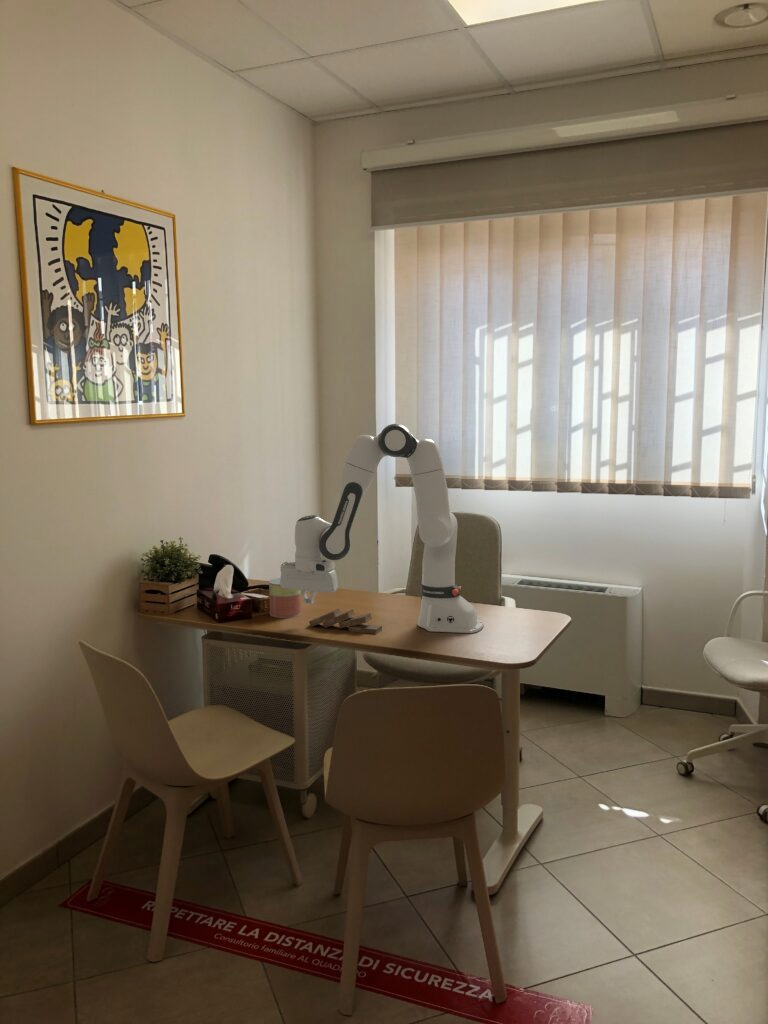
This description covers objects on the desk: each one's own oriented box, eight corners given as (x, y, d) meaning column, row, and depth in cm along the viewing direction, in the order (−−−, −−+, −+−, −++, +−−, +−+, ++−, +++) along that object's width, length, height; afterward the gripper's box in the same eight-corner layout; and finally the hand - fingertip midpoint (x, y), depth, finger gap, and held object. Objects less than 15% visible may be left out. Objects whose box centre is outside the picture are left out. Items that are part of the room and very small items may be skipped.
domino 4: (354, 628, 291) (381, 631, 287) (348, 632, 286) (376, 635, 282) (354, 623, 290) (381, 625, 287) (348, 626, 286) (376, 629, 282)
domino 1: (317, 623, 295) (341, 614, 292) (311, 627, 291) (336, 617, 287) (314, 618, 295) (339, 608, 292) (308, 621, 291) (333, 611, 287)
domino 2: (330, 624, 294) (355, 614, 290) (324, 628, 289) (349, 617, 286) (328, 619, 294) (352, 609, 290) (322, 622, 289) (347, 612, 286)
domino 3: (345, 624, 292) (372, 618, 288) (340, 628, 287) (366, 622, 284) (344, 619, 292) (370, 613, 288) (338, 622, 287) (365, 616, 283)
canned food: (303, 610, 314) (303, 578, 312) (297, 618, 303) (297, 584, 301) (273, 609, 315) (273, 577, 313) (266, 617, 304) (265, 584, 302)
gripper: (276, 563, 291) (277, 602, 293) (331, 567, 284) (332, 607, 286) (284, 559, 297) (285, 598, 299) (339, 563, 290) (339, 603, 292)
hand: (308, 603), depth 293 cm, fingers closed
